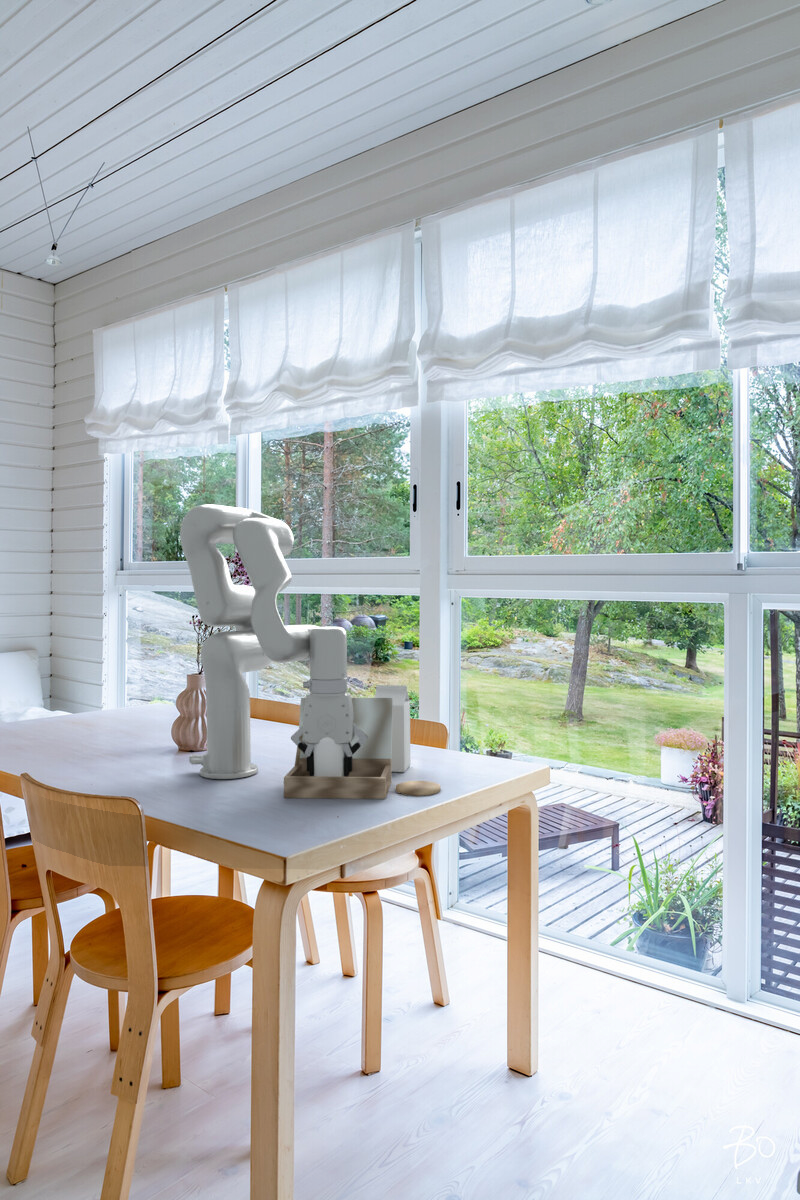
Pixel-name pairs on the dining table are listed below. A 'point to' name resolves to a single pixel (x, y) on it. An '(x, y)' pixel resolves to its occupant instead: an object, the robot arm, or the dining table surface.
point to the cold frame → (367, 761)
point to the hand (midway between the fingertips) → (329, 774)
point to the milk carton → (398, 724)
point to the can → (328, 759)
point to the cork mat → (418, 788)
